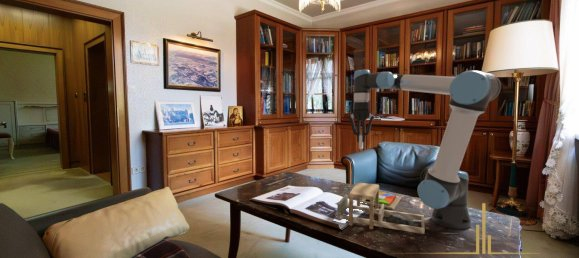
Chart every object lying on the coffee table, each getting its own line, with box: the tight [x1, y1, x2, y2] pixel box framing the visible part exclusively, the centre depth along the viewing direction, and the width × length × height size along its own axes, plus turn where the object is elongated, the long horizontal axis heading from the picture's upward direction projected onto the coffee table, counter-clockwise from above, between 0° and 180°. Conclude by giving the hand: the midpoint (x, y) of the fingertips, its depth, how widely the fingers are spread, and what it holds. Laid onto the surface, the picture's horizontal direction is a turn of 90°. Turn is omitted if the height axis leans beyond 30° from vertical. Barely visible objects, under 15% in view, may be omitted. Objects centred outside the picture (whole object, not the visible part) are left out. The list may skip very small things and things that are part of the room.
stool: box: [348, 182, 380, 230], centre depth 126 cm, size 10×18×14 cm, turn 155°
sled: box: [336, 193, 426, 235], centre depth 123 cm, size 35×15×7 cm, turn 65°
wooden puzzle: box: [360, 191, 403, 211], centre depth 149 cm, size 18×19×4 cm
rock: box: [384, 213, 415, 226], centre depth 119 cm, size 9×11×6 cm
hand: (361, 148), depth 141 cm, fingers closed
